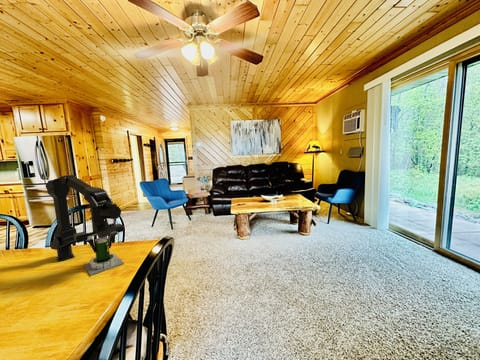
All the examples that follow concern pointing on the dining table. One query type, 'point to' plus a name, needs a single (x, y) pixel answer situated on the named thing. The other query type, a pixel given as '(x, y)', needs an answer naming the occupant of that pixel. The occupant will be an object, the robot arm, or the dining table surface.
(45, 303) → the dining table surface
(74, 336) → the dining table surface
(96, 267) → the metal collar
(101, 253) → the beer can
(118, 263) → the socket plate
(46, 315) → the dining table surface
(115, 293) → the dining table surface
